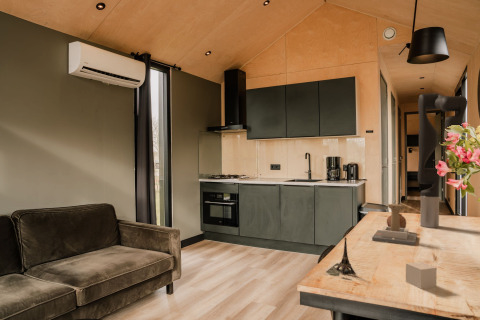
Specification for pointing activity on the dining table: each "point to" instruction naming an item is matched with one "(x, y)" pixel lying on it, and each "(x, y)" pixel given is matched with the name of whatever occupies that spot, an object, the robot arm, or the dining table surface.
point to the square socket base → (395, 236)
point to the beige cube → (421, 275)
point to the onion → (402, 221)
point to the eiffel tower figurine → (342, 265)
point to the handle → (395, 216)
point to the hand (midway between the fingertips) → (453, 173)
